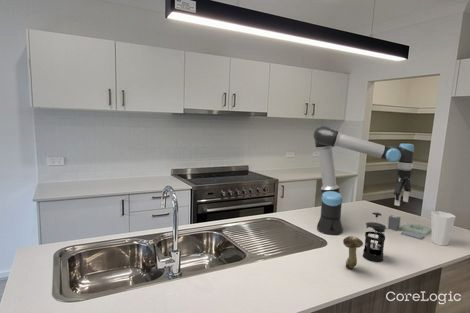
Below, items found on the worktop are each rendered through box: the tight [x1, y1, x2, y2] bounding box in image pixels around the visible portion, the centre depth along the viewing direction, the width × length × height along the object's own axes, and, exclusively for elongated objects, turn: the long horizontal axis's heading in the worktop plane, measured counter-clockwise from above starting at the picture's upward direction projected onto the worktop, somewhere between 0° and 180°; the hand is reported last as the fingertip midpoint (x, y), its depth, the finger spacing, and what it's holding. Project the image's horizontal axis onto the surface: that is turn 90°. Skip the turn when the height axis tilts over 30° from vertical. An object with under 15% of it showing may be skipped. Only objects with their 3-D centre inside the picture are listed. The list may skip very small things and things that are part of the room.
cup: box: [430, 210, 456, 247], centre depth 163 cm, size 11×10×17 cm
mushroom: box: [342, 235, 364, 270], centre depth 132 cm, size 9×9×15 cm
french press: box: [362, 212, 387, 263], centre depth 143 cm, size 12×9×23 cm
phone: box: [400, 230, 426, 241], centre depth 175 cm, size 11×6×1 cm, turn 42°
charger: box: [387, 214, 401, 232], centre depth 184 cm, size 5×5×8 cm
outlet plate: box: [399, 221, 432, 237], centre depth 184 cm, size 14×14×2 cm
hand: (401, 203), depth 177 cm, fingers open, 13 cm apart
